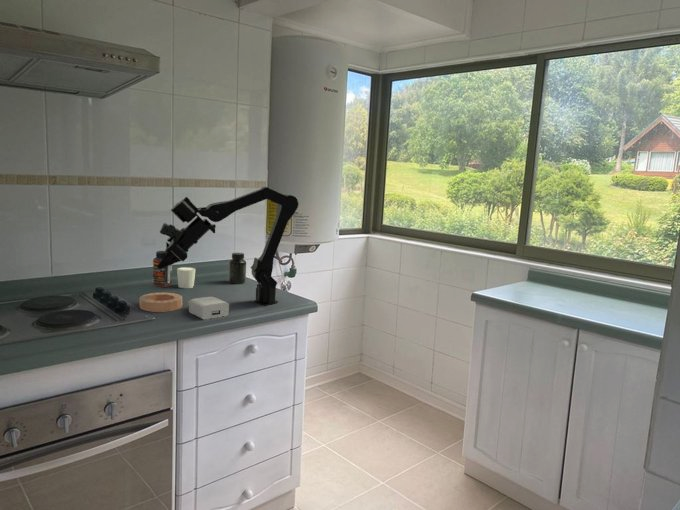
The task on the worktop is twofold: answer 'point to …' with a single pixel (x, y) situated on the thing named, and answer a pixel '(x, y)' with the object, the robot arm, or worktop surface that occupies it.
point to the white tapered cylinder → (186, 277)
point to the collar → (160, 302)
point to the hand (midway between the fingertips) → (157, 265)
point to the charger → (208, 307)
